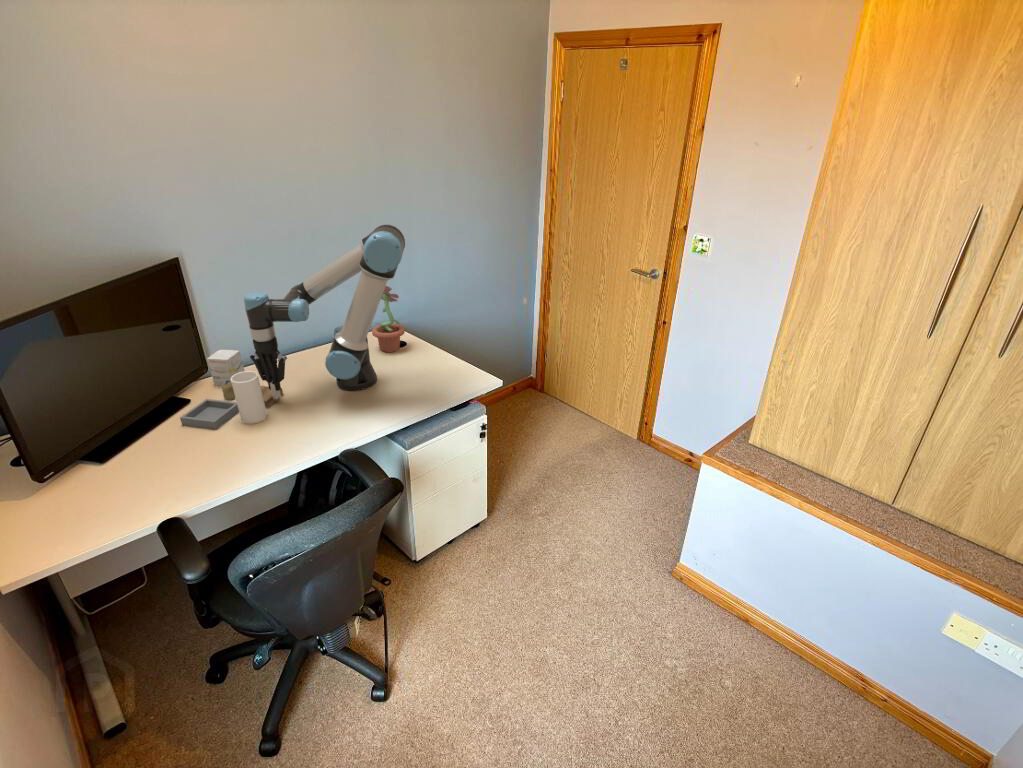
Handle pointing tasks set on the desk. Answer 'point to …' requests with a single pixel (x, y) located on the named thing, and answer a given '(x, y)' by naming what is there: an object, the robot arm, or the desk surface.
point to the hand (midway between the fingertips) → (276, 397)
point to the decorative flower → (388, 326)
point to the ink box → (225, 366)
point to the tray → (210, 414)
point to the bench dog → (228, 391)
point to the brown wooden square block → (268, 396)
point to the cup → (249, 397)
